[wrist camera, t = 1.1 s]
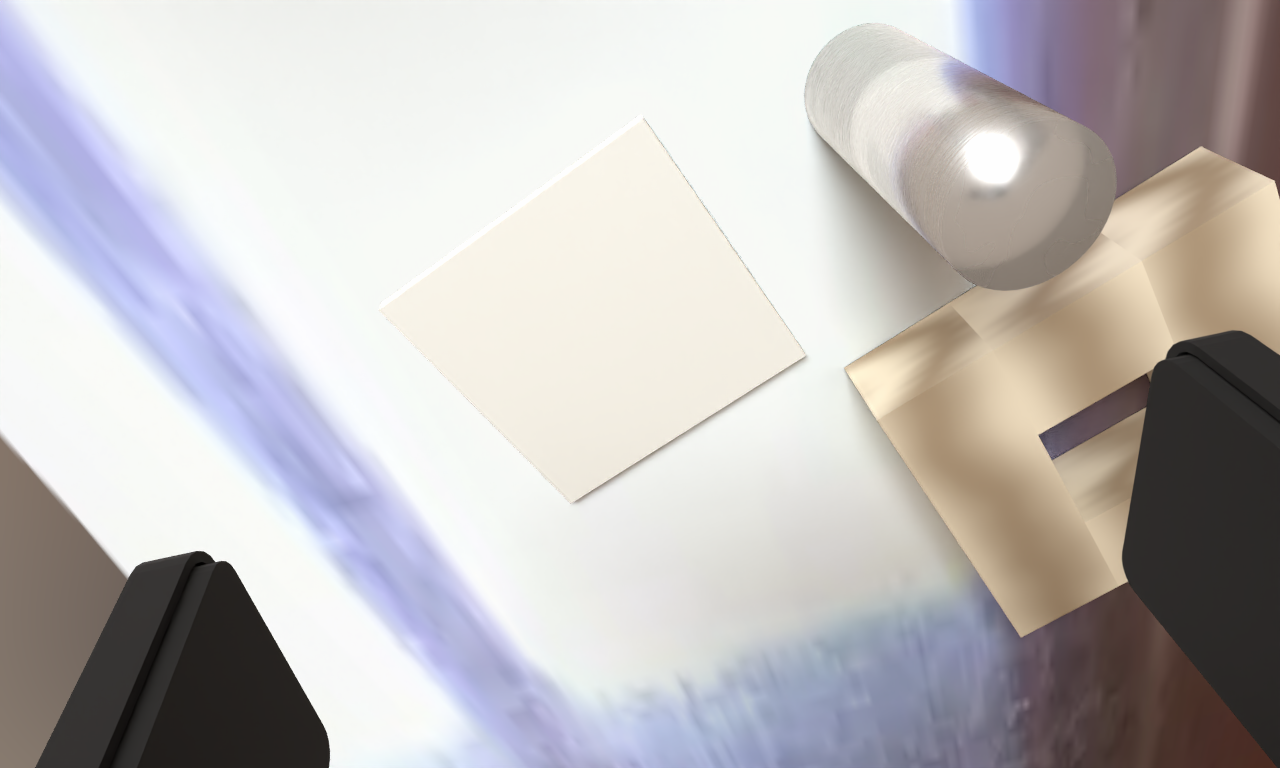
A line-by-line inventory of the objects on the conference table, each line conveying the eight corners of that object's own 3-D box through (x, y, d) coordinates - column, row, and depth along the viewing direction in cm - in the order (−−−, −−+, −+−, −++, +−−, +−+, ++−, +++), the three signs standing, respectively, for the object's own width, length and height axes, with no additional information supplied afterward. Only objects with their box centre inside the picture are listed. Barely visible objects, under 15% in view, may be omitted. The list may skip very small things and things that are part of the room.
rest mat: (641, 114, 32) (643, 118, 31) (801, 348, 38) (805, 355, 37) (380, 303, 34) (378, 310, 34) (569, 495, 40) (570, 503, 40)
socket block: (1200, 146, 35) (1274, 180, 32) (1285, 413, 43) (1351, 463, 40) (844, 367, 39) (876, 420, 35) (983, 578, 47) (1021, 637, 43)
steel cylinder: (892, -4, 31) (1083, 81, 21) (943, 101, 33) (1138, 226, 23) (782, 74, 32) (913, 192, 22) (839, 172, 34) (981, 321, 24)
